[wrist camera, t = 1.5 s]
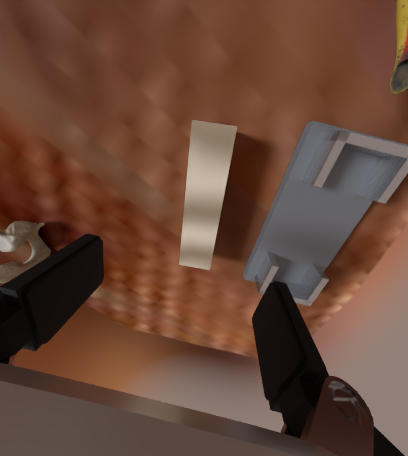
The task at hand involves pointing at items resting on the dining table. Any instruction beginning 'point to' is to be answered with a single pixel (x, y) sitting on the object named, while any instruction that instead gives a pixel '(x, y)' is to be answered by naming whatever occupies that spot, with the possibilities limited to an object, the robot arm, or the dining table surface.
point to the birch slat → (205, 190)
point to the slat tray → (313, 210)
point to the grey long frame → (371, 188)
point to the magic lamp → (401, 50)
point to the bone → (14, 240)
